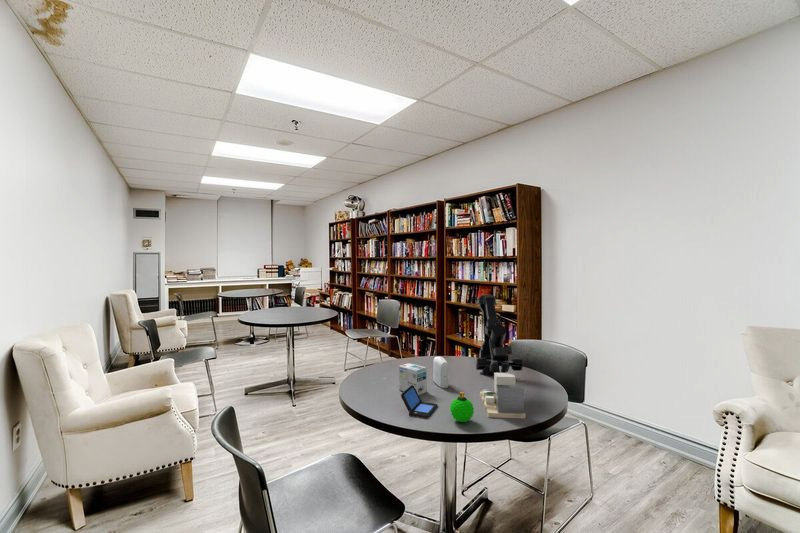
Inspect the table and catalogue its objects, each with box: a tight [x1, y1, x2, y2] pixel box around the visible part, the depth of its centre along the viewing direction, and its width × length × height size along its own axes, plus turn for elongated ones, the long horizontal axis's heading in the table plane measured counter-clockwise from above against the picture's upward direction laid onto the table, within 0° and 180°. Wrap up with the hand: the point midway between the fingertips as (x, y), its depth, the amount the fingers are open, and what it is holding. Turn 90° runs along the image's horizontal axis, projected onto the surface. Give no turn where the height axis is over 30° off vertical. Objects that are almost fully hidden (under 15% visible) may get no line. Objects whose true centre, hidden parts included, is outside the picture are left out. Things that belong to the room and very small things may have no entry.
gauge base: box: [479, 389, 527, 419], centre depth 138 cm, size 22×13×4 cm, turn 175°
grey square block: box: [496, 384, 525, 413], centre depth 129 cm, size 3×9×9 cm, turn 85°
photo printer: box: [432, 356, 450, 389], centre depth 162 cm, size 10×4×12 cm, turn 17°
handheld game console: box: [400, 385, 438, 419], centre depth 134 cm, size 12×11×7 cm
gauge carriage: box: [487, 372, 516, 401], centre depth 137 cm, size 8×10×10 cm
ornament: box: [449, 391, 475, 423], centre depth 124 cm, size 8×8×10 cm
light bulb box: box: [398, 362, 428, 396], centre depth 154 cm, size 11×7×11 cm, turn 47°
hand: (502, 383), depth 143 cm, fingers closed
